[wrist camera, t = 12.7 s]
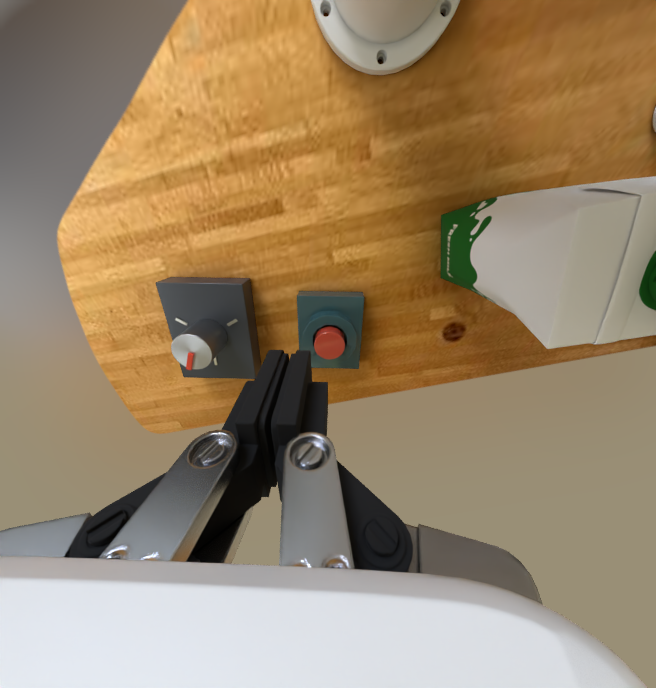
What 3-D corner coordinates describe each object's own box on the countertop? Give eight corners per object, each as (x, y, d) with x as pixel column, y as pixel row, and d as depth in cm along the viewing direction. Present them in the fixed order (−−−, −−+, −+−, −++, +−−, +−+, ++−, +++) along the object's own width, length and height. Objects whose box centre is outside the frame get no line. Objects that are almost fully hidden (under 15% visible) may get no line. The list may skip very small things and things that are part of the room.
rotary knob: (194, 313, 30) (170, 329, 26) (230, 325, 31) (213, 343, 27) (190, 344, 32) (168, 364, 28) (224, 355, 33) (208, 375, 28)
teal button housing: (299, 290, 32) (294, 300, 28) (362, 292, 32) (366, 301, 28) (302, 359, 36) (298, 375, 33) (357, 360, 36) (360, 376, 33)
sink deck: (170, 276, 31) (154, 282, 29) (250, 278, 31) (241, 284, 28) (194, 365, 37) (182, 378, 34) (261, 367, 37) (255, 379, 34)
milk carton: (509, 273, 30) (759, 355, 12) (431, 286, 31) (560, 381, 13) (519, 188, 26) (908, 131, 8) (431, 207, 27) (611, 190, 9)
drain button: (314, 325, 30) (313, 331, 28) (345, 326, 30) (345, 332, 28) (315, 352, 32) (314, 359, 30) (343, 352, 32) (344, 359, 30)
